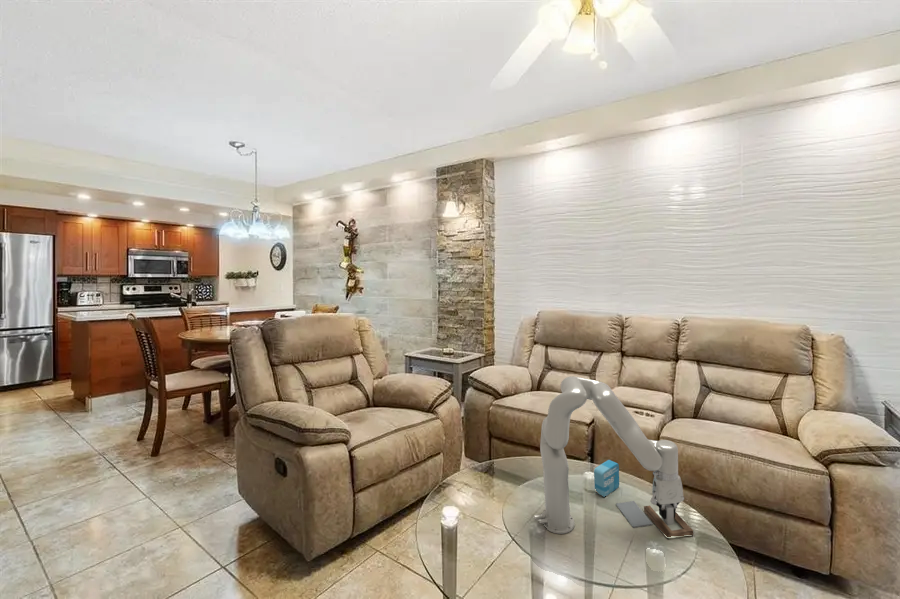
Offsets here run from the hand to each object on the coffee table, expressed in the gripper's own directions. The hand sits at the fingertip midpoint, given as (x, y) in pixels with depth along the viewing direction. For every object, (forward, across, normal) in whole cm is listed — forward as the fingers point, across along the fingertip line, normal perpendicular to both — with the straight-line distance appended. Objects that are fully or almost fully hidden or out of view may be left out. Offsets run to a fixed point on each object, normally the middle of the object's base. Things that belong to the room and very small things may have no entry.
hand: (667, 515), depth 159 cm
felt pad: (+3, -10, +7) cm, 13 cm away
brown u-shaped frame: (+3, 0, 0) cm, 3 cm away
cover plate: (+3, 0, 0) cm, 3 cm away
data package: (+3, -13, +24) cm, 27 cm away
